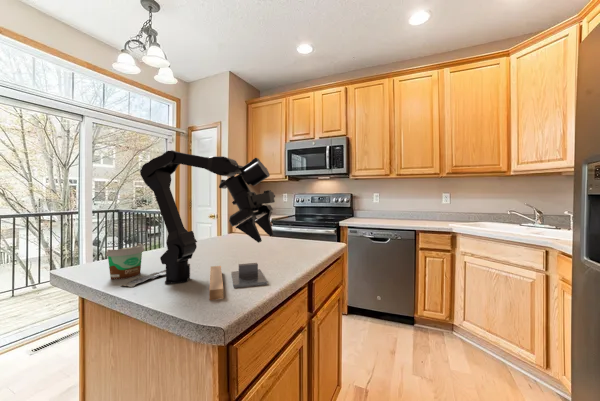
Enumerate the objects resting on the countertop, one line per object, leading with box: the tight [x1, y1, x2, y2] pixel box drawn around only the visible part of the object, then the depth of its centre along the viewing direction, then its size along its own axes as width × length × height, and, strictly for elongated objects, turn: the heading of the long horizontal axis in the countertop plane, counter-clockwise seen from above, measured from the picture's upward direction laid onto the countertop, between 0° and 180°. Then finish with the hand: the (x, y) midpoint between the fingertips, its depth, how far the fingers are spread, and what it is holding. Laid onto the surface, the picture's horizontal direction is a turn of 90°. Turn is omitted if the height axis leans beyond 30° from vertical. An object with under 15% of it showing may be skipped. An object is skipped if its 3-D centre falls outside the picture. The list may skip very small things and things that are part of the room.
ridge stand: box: [230, 262, 268, 289], centre depth 85 cm, size 10×14×5 cm
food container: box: [105, 243, 145, 280], centre depth 89 cm, size 12×6×10 cm, turn 164°
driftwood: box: [121, 269, 166, 288], centre depth 88 cm, size 21×7×2 cm, turn 157°
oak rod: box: [208, 265, 224, 301], centre depth 80 cm, size 4×24×3 cm, turn 18°
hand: (266, 238), depth 78 cm, fingers open, 9 cm apart
